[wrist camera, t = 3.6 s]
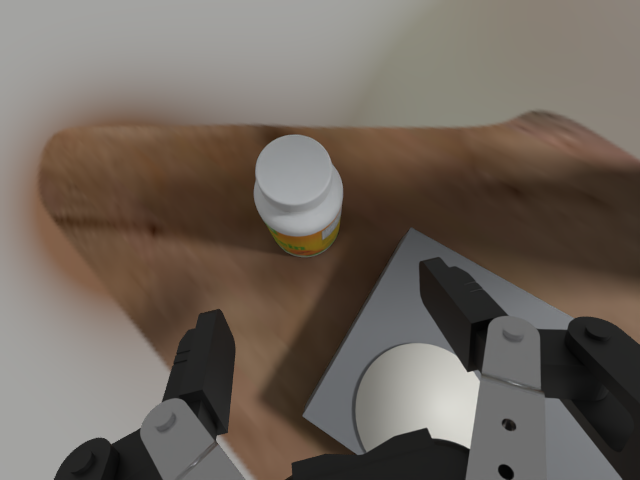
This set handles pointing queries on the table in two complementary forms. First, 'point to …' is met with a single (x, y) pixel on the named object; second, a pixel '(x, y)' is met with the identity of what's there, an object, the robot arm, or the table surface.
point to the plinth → (431, 369)
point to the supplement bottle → (298, 194)
